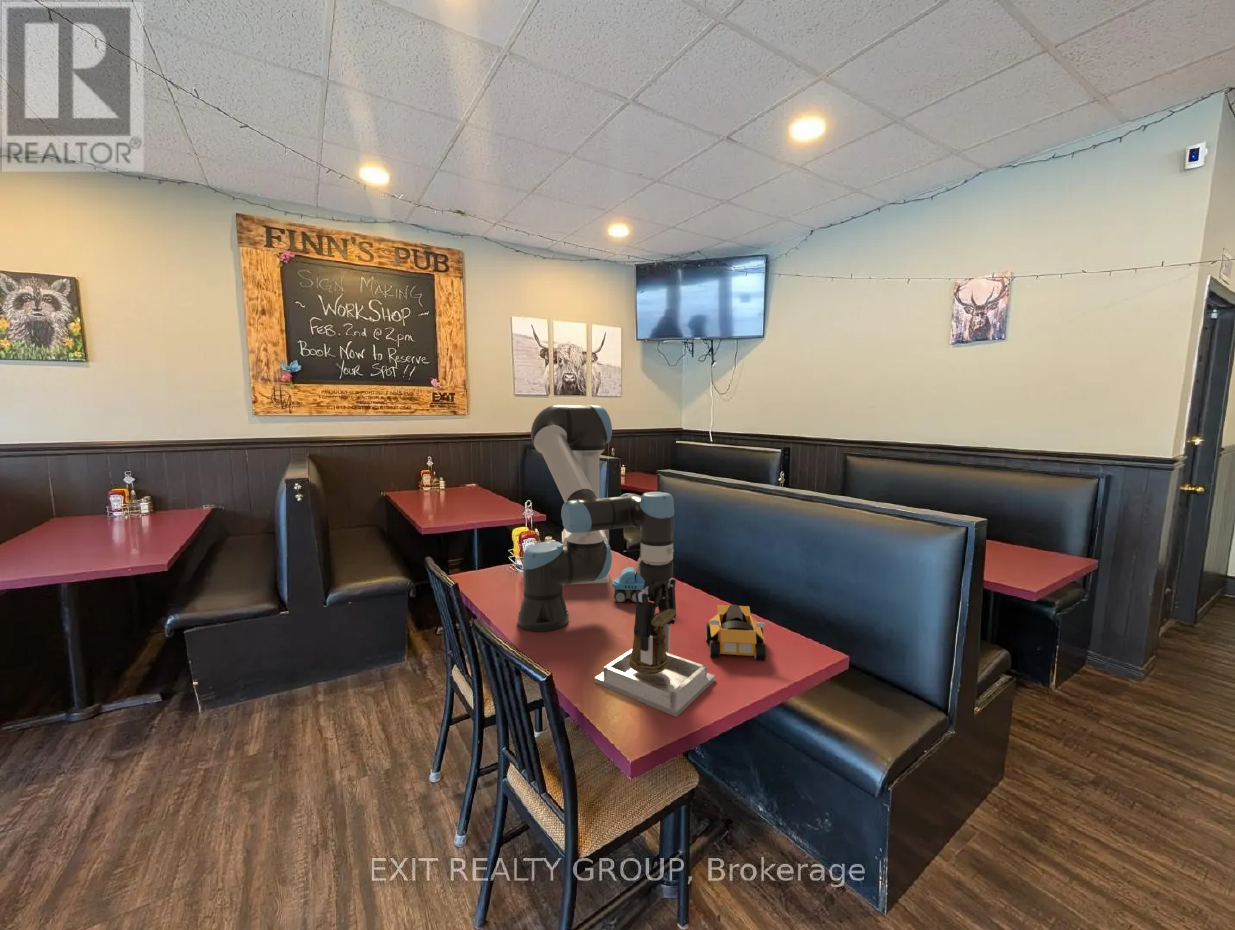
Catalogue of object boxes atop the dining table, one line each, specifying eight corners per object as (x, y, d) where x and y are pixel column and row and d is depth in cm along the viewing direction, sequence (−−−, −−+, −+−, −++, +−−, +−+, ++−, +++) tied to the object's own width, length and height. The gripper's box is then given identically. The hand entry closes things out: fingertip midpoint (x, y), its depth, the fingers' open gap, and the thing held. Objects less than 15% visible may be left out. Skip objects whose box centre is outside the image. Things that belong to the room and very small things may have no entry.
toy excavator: (662, 603, 165) (663, 553, 163) (611, 603, 165) (611, 552, 163) (660, 594, 173) (661, 546, 171) (612, 593, 173) (612, 545, 172)
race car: (708, 660, 128) (709, 621, 127) (705, 634, 143) (706, 599, 141) (768, 664, 126) (769, 624, 125) (759, 638, 141) (760, 601, 139)
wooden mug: (651, 689, 109) (651, 612, 106) (623, 659, 121) (621, 589, 118) (686, 678, 113) (686, 603, 110) (655, 650, 125) (654, 582, 122)
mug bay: (594, 682, 117) (594, 667, 117) (638, 652, 131) (638, 639, 131) (676, 717, 104) (676, 700, 103) (715, 680, 118) (715, 665, 118)
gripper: (646, 574, 104) (645, 679, 107) (692, 553, 120) (690, 644, 122) (617, 567, 109) (617, 668, 111) (665, 548, 124) (664, 636, 127)
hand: (655, 655), depth 117 cm, fingers closed on wooden mug, 7 cm apart
